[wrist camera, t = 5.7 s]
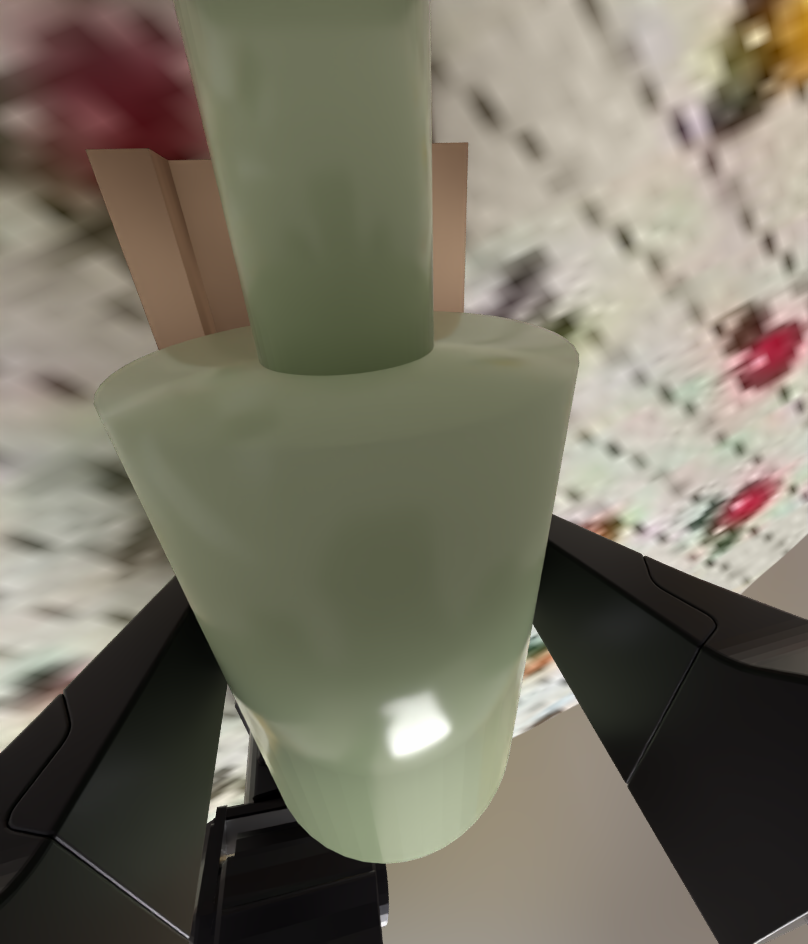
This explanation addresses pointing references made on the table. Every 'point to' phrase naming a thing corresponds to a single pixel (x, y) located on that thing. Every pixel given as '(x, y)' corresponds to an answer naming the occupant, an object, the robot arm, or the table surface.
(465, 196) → the rest
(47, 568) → the table surface
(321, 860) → the robot arm
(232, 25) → the bottle
